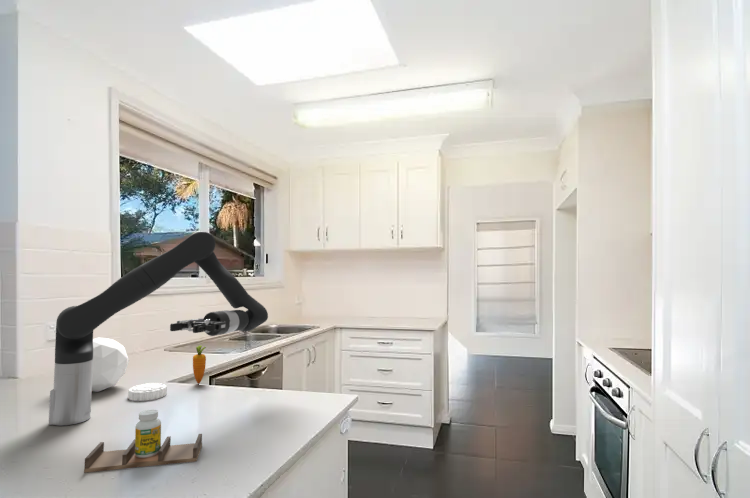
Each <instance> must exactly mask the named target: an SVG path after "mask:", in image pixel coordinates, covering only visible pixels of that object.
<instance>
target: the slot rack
mask: <svg viewBox="0 0 750 498" xmlns="http://www.w3.org/2000/svg"><path fill="white" fill-rule="evenodd" d="M171 438H172V437H171V435H170V436H169V435H168V436H166V438H164V439H165V440H164V441H163V443H162V444H161V448H160V450H159V452H158V454H156V455H154V456H152V457H147V458H138V457H136V456H135V439H133V441H132V442H131V443H130V444H129V446H128V447H127V448H126V449H118V450H117V449H116V450H107V451H106V450H105V451H104V449H105V448H104V447H105V442H104V441H99V443H98V444H97V445H96V446H95V447H94V448H93V449H92V450H91V451H90V453H88V455H86V457H85V458H84V469H83V473H85V474H86V473H93V472H95V473H96V472H104V471H113V470H115V471H116V470H124V469H125V470H126V469H133V468H143V467H144V468H145V467H154V466H162V465H163V466H164V465H165V466H166V465H173V464H181V463H192V462H193V463H194V462H197V461H198V460H199V456H200V453H201V450H202V447H203V433H198V435H197V438H196V440H195V442H193V443H184V444H183V443H182V444H171Z"/></svg>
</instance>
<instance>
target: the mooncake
mask: <svg viewBox="0 0 750 498" xmlns="http://www.w3.org/2000/svg"><path fill="white" fill-rule="evenodd" d="M167 393H168V386H167V385H166V384H164V383H161V382H147V383H145V382H144V383H142V384H137V385H134V386H131V387H130V388H128V393H127V398H128V400H130V401H134V402H138V401H139V402H143V401H144V402H145V401H146V402H148V401H154V400H157V399H160V398H163V397H164V396H166V395H167Z"/></svg>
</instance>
